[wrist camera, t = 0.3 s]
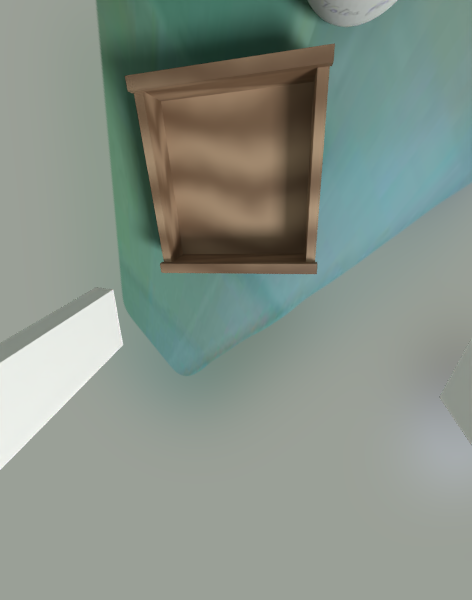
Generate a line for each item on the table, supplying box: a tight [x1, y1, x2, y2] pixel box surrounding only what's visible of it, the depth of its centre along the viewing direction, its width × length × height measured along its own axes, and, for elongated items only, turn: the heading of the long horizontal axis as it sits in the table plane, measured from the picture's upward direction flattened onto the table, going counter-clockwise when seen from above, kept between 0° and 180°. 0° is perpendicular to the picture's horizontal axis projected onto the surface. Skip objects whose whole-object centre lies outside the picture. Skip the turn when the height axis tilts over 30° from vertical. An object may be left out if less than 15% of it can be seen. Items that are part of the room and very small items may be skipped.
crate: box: [125, 44, 335, 274], centre depth 30 cm, size 20×19×6 cm
